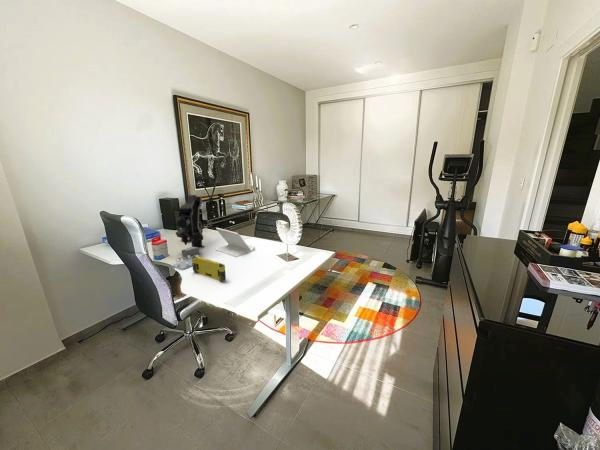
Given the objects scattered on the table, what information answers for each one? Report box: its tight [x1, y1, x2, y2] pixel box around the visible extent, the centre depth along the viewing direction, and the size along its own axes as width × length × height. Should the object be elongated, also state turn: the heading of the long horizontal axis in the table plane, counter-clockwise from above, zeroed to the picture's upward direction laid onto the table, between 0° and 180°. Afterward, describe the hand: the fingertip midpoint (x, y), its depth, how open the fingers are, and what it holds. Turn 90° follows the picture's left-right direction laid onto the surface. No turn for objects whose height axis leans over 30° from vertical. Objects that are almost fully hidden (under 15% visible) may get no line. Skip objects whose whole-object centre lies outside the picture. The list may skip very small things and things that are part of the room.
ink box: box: [150, 235, 170, 261], centre depth 166 cm, size 8×5×15 cm, turn 168°
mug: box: [179, 221, 203, 244], centre depth 206 cm, size 20×14×15 cm
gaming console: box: [191, 255, 227, 282], centre depth 138 cm, size 26×4×10 cm, turn 60°
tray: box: [171, 254, 199, 271], centre depth 156 cm, size 16×11×4 cm
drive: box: [181, 246, 201, 259], centre depth 171 cm, size 10×6×5 cm, turn 151°
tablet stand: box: [215, 227, 256, 258], centre depth 180 cm, size 18×25×17 cm
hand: (190, 245), depth 170 cm, fingers open, 9 cm apart
